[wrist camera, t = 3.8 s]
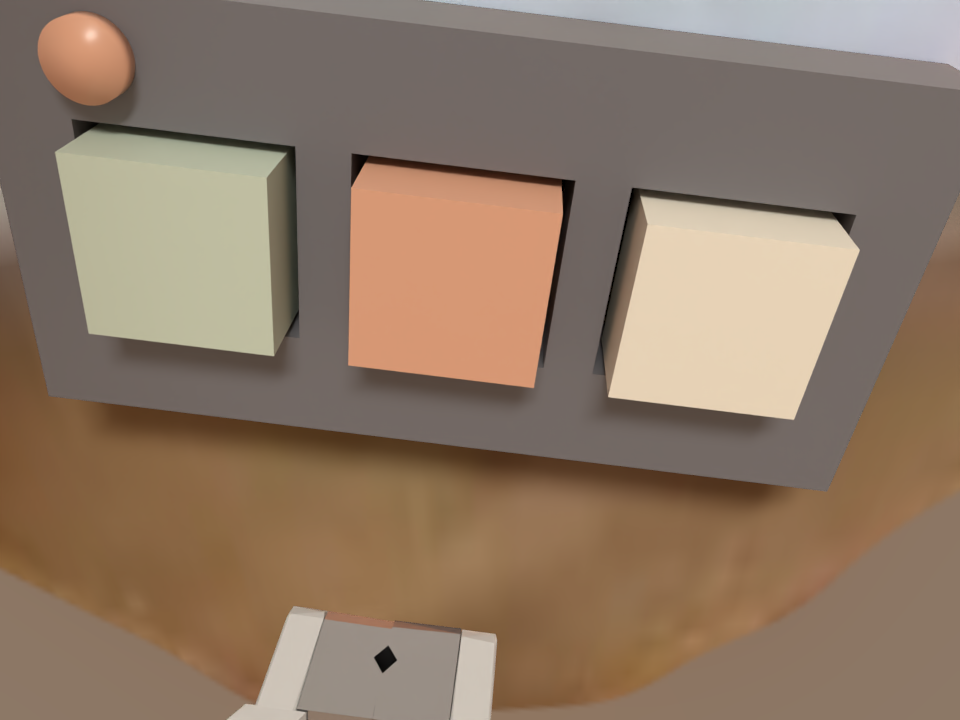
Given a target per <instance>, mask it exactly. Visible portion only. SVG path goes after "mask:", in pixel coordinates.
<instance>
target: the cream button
mask: <svg viewBox="0 0 960 720" xmlns="http://www.w3.org/2000/svg"><path fill="white" fill-rule="evenodd" d="M859 251H860V250H859V248H858V247H857V246H856V244H855V243H854V242H853V240H852V239H851V238H850V236H849V235H848V234H847V233H846V231H845V230H844V229H843V227H842V226H841V225H840V223H839V222H838V221H837V219H836V218H835V217H834V215H833V214H832V213H831V212H829V211H821V210H813V209H805V208H796V207H788V206H780V205H772V204H764V203H755V202H747V201H739V200H731V199H722V198H714V197H706V196H698V195H690V194H681V193H673V192H665V191H657V190H649V189H640V188H634V190H633V195H632V200H631V204H630V209H629V214H628V218H627V223H626V228H625V232H624V237H623V242H622V246H621V251H620V256H619V260H618V265H617V270H616V274H615V279H614V284H613V288H612V293H611V298H610V302H609V307H608V312H607V316H606V321H605V326H604V330H603V335H602V347H603V356H604V365H605V374H606V383H607V392H608V397H611V398H619V399H627V400H635V401H644V402H652V403H660V404H668V405H676V406H685V407H693V408H701V409H709V410H717V411H725V412H734V413H742V414H750V415H758V416H766V417H774V418H783V419H791V420H794V418H795V416H796V413H797V411H798V408H799V405H800V403H801V400H802V398H803V395H804V393H805V390H806V387H807V385H808V382H809V380H810V377H811V375H812V372H813V369H814V367H815V364H816V362H817V359H818V357H819V354H820V351H821V349H822V346H823V344H824V341H825V339H826V336H827V333H828V331H829V328H830V326H831V323H832V321H833V318H834V315H835V313H836V310H837V308H838V305H839V303H840V300H841V297H842V295H843V292H844V290H845V287H846V285H847V282H848V279H849V277H850V274H851V272H852V269H853V267H854V264H855V261H856V259H857V256H858V254H859Z"/></svg>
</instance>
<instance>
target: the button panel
mask: <svg viewBox="0 0 960 720" xmlns="http://www.w3.org/2000/svg"><path fill="white" fill-rule="evenodd" d="M99 123H107V124H115V125H123V126H132V127H140V128H148V129H156V130H165V131H173V132H181V133H189V134H197V135H206V136H214V137H222V138H230V139H238V140H247V141H255V142H263V143H271V144H279V145H288V146H295V151H296V197H297V243H298V289H299V310H298V312H297V313H296V315H295V317H294V319H293V321H292V323H291V325H290V327H289V329H288V331H287V333H286V334H285V336H284V338H283V340H282V342H281V344H280V346H279V348H278V350H277V352H276V354H275V355H274V356H268V355H260V354H251V353H243V352H235V351H227V350H219V349H210V348H202V347H194V346H186V345H178V344H170V343H161V342H153V341H145V340H137V339H129V338H121V337H112V336H104V335H96V334H89V332H88V327H87V322H86V316H85V311H84V305H83V300H82V295H81V289H80V284H79V279H78V273H77V268H76V262H75V257H74V252H73V246H72V241H71V235H70V230H69V225H68V219H67V214H66V209H65V203H64V198H63V192H62V187H61V182H60V176H59V171H58V165H57V160H56V155H55V152H56V151H57V150H59V149H60V148H62V147H63V146H65V145H67V144H68V143H70V142H71V141H73V140H74V139H76V138H78V137H79V136H81V135H82V134H84V133H85V132H87V131H88V130H90V129H92V128H93V127H95V126H96V125H98V124H99ZM369 155H370V156H378V157H386V158H394V159H402V160H411V161H419V162H427V163H435V164H443V165H452V166H460V167H468V168H476V169H485V170H493V171H501V172H509V173H517V174H526V175H534V176H542V177H550V178H558V179H566V185H565V191H564V197H563V217H562V223H561V229H560V235H559V241H558V247H557V253H556V259H555V265H554V271H553V277H552V283H551V288H550V294H549V300H548V306H547V312H546V318H545V324H544V330H543V336H542V342H541V348H540V354H539V360H538V366H537V372H536V378H535V384H534V388H529V387H521V386H513V385H505V384H497V383H488V382H480V381H472V380H464V379H456V378H448V377H439V376H431V375H423V374H415V373H407V372H398V371H390V370H382V369H374V368H366V367H358V366H349V365H348V350H349V290H350V230H351V187H352V186H353V184H354V182H355V180H356V178H357V177H358V175H359V173H360V171H361V169H362V168H363V166H364V164H365V162H366V160H367V159H368V157H369ZM0 184H1V188H2V192H3V197H4V201H5V206H6V210H7V214H8V219H9V223H10V228H11V232H12V236H13V241H14V245H15V250H16V254H17V258H18V263H19V267H20V271H21V276H22V280H23V285H24V289H25V293H26V298H27V302H28V307H29V311H30V315H31V320H32V324H33V329H34V333H35V337H36V342H37V346H38V351H39V355H40V359H41V364H42V368H43V372H44V377H45V381H46V386H47V390H48V394H49V396H52V397H60V398H69V399H77V400H85V401H93V402H101V403H109V404H118V405H126V406H134V407H142V408H150V409H158V410H167V411H175V412H183V413H191V414H199V415H207V416H216V417H224V418H232V419H240V420H248V421H256V422H265V423H273V424H281V425H289V426H297V427H305V428H314V429H322V430H330V431H338V432H346V433H354V434H363V435H371V436H379V437H387V438H395V439H403V440H411V441H420V442H428V443H436V444H444V445H452V446H460V447H469V448H477V449H485V450H493V451H501V452H509V453H518V454H526V455H534V456H542V457H550V458H558V459H567V460H575V461H583V462H591V463H599V464H607V465H616V466H624V467H632V468H640V469H648V470H656V471H665V472H673V473H681V474H689V475H697V476H705V477H714V478H722V479H730V480H738V481H746V482H754V483H762V484H771V485H779V486H787V487H795V488H803V489H811V490H820V491H828V488H829V486H830V484H831V482H832V479H833V477H834V475H835V473H836V470H837V468H838V466H839V464H840V461H841V459H842V457H843V455H844V452H845V450H846V448H847V446H848V443H849V441H850V439H851V436H852V434H853V432H854V430H855V427H856V425H857V423H858V421H859V418H860V416H861V414H862V412H863V409H864V407H865V405H866V403H867V400H868V398H869V396H870V394H871V391H872V389H873V387H874V385H875V382H876V380H877V378H878V376H879V373H880V371H881V369H882V367H883V364H884V362H885V360H886V357H887V355H888V353H889V351H890V348H891V346H892V344H893V342H894V339H895V337H896V335H897V333H898V330H899V328H900V326H901V324H902V321H903V319H904V317H905V315H906V312H907V310H908V308H909V306H910V303H911V301H912V299H913V297H914V294H915V292H916V290H917V287H918V285H919V283H920V281H921V278H922V276H923V274H924V272H925V269H926V267H927V265H928V263H929V260H930V258H931V256H932V254H933V251H934V249H935V247H936V245H937V242H938V240H939V238H940V236H941V233H942V231H943V229H944V227H945V224H946V222H947V220H948V218H949V215H950V213H951V211H952V208H953V206H954V204H955V202H956V199H957V197H958V195H959V193H960V71H959V70H957V69H956V68H954V67H952V66H950V65H949V64H943V63H935V62H926V61H918V60H910V59H902V58H894V57H885V56H877V55H869V54H861V53H852V52H844V51H836V50H828V49H819V48H811V47H803V46H795V45H787V44H778V43H770V42H762V41H754V40H745V39H737V38H729V37H721V36H712V35H704V34H696V33H688V32H680V31H671V30H663V29H655V28H647V27H638V26H630V25H622V24H614V23H605V22H597V21H589V20H581V19H573V18H564V17H556V16H548V15H540V14H531V13H523V12H515V11H507V10H498V9H490V8H482V7H474V6H466V5H457V4H449V3H441V2H433V1H424V0H0ZM632 188H640V189H649V190H657V191H665V192H673V193H681V194H690V195H698V196H706V197H714V198H722V199H731V200H739V201H747V202H755V203H764V204H772V205H780V206H788V207H796V208H805V209H813V210H821V211H829V212H831V213H832V214H833V215H834V217H835V218H836V219H837V221H838V222H839V223H840V225H841V226H842V227H843V229H844V230H845V231H846V233H847V234H848V235H849V236H850V238H851V239H852V240H853V242H854V243H855V244H856V246H857V247H858V248H859V250H860V251H859V254H858V256H857V259H856V261H855V264H854V267H853V269H852V272H851V274H850V277H849V279H848V282H847V285H846V287H845V290H844V292H843V295H842V297H841V300H840V303H839V305H838V308H837V310H836V313H835V315H834V318H833V321H832V323H831V326H830V328H829V331H828V333H827V336H826V339H825V341H824V344H823V346H822V349H821V351H820V354H819V357H818V359H817V362H816V364H815V367H814V369H813V372H812V375H811V377H810V380H809V382H808V385H807V387H806V390H805V393H804V395H803V398H802V400H801V403H800V405H799V408H798V411H797V413H796V416H795V418H794V420H791V419H783V418H774V417H766V416H758V415H750V414H742V413H734V412H725V411H717V410H709V409H701V408H693V407H685V406H676V405H668V404H660V403H652V402H644V401H635V400H627V399H619V398H611V397H608V392H607V383H606V374H605V365H604V356H603V347H602V335H603V330H604V326H605V324H603V321H604V317H605V312H606V307H607V302H608V298H609V293H610V288H611V284H612V279H613V274H614V270H615V265H616V260H617V255H618V251H619V246H620V241H621V237H622V232H623V227H624V222H625V218H626V213H627V208H628V204H629V199H630V194H631V190H632Z"/></svg>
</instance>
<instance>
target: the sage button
mask: <svg viewBox="0 0 960 720" xmlns="http://www.w3.org/2000/svg"><path fill="white" fill-rule="evenodd" d="M55 155H56V160H57V165H58V171H59V176H60V182H61V187H62V192H63V198H64V203H65V209H66V214H67V219H68V225H69V230H70V235H71V241H72V246H73V252H74V257H75V262H76V268H77V273H78V279H79V284H80V289H81V295H82V300H83V305H84V311H85V316H86V322H87V327H88V332H89V334H96V335H104V336H112V337H121V338H129V339H137V340H145V341H153V342H161V343H170V344H178V345H186V346H194V347H202V348H210V349H219V350H227V351H235V352H243V353H251V354H260V355H268V356H274V355H275V354H276V352H277V350H278V348H279V346H280V344H281V342H282V340H283V338H284V336H285V334H286V333H287V331H288V329H289V327H290V325H291V323H292V321H293V319H294V317H295V315H296V313H297V312H298V310H299V289H298V243H297V197H296V151H295V146H288V145H279V144H271V143H263V142H255V141H247V140H238V139H230V138H222V137H214V136H206V135H197V134H189V133H181V132H173V131H165V130H156V129H148V128H140V127H132V126H123V125H115V124H107V123H99V124H98V125H96V126H95V127H93V128H92V129H90V130H88V131H87V132H85V133H84V134H82V135H81V136H79V137H78V138H76V139H74V140H73V141H71V142H70V143H68V144H67V145H65V146H63V147H62V148H60V149H59V150H57V151H56V152H55Z"/></svg>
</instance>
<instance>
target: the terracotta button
mask: <svg viewBox="0 0 960 720" xmlns="http://www.w3.org/2000/svg"><path fill="white" fill-rule="evenodd" d="M562 217H563V203H562V182H561V179H558V178H550V177H542V176H534V175H526V174H517V173H509V172H501V171H493V170H485V169H476V168H468V167H460V166H452V165H443V164H435V163H427V162H419V161H411V160H402V159H394V158H386V157H378V156H370V155H369V157H368V159H367V160H366V162H365V164H364V166H363V168H362V169H361V171H360V173H359V175H358V177H357V178H356V180H355V182H354V184H353V186H352V187H351V230H350V290H349V350H348V365H349V366H358V367H366V368H374V369H382V370H390V371H398V372H407V373H415V374H423V375H431V376H439V377H448V378H456V379H464V380H472V381H480V382H488V383H497V384H505V385H513V386H521V387H529V388H534V384H535V378H536V372H537V366H538V360H539V354H540V348H541V342H542V336H543V330H544V324H545V318H546V312H547V306H548V300H549V294H550V288H551V283H552V277H553V271H554V265H555V259H556V253H557V247H558V241H559V235H560V229H561V223H562Z"/></svg>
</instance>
